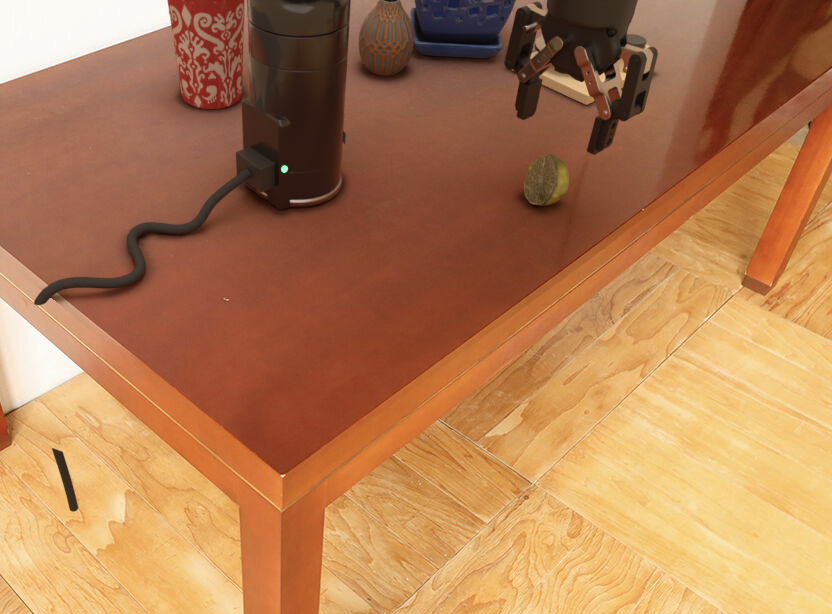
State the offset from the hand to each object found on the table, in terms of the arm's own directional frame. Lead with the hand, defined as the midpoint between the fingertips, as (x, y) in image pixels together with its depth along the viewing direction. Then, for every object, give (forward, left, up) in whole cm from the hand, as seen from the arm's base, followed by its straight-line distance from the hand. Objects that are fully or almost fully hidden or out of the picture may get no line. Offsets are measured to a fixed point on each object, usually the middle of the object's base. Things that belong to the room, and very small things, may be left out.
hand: (559, 133), depth 83 cm
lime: (0, 0, -8) cm, 8 cm away
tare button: (+32, +13, -5) cm, 35 cm away
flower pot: (+21, +32, -8) cm, 39 cm away
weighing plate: (+26, +18, -4) cm, 31 cm away
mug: (-12, +40, -8) cm, 43 cm away
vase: (+8, +32, -8) cm, 34 cm away
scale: (+28, +16, -7) cm, 33 cm away
